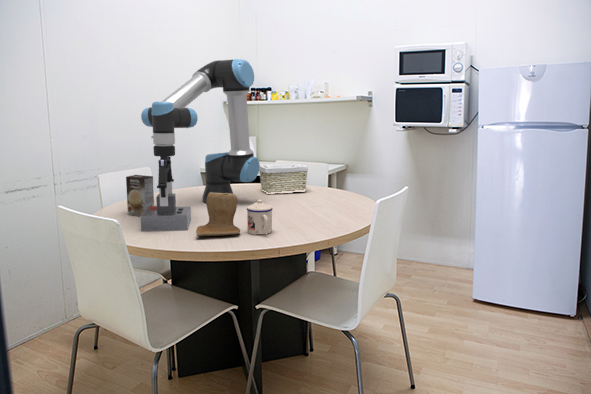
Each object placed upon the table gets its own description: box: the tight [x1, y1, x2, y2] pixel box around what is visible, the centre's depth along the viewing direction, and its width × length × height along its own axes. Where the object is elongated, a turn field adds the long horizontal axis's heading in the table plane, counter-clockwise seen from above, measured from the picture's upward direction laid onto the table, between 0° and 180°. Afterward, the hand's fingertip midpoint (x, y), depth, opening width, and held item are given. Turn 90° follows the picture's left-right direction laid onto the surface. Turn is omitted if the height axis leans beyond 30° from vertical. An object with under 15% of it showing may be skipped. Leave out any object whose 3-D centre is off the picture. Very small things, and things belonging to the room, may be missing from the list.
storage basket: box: [258, 162, 309, 193], centre depth 245 cm, size 24×16×15 cm
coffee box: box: [125, 174, 155, 217], centre depth 186 cm, size 9×6×16 cm
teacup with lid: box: [246, 199, 273, 235], centre depth 160 cm, size 12×9×12 cm
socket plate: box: [140, 205, 192, 232], centre depth 170 cm, size 16×16×6 cm
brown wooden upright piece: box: [195, 192, 241, 237], centre depth 157 cm, size 15×12×15 cm
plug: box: [155, 193, 177, 213], centre depth 169 cm, size 6×6×11 cm
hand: (166, 202), depth 169 cm, fingers open, 13 cm apart
